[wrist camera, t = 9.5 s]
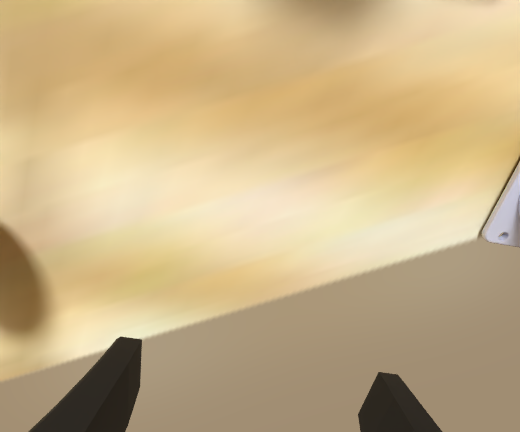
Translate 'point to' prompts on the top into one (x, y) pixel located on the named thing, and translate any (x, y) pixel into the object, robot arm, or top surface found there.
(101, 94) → the top surface
